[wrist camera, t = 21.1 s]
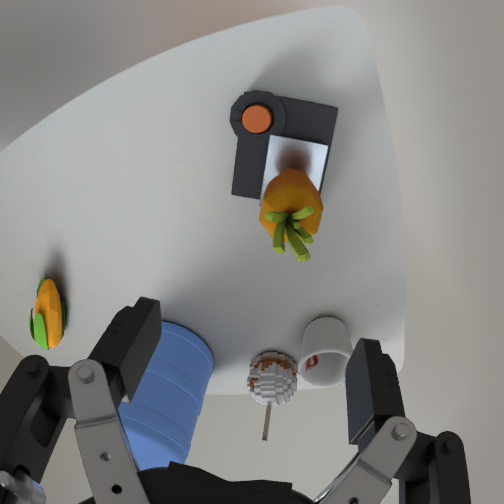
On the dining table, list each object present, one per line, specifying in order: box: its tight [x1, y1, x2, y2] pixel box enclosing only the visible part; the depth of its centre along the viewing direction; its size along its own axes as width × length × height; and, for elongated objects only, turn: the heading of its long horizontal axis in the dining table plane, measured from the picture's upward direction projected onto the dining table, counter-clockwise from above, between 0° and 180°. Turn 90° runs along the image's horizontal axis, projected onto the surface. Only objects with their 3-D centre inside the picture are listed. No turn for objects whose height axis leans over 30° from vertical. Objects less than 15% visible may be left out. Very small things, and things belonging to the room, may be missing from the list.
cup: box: [298, 317, 353, 386], centre depth 44 cm, size 11×8×8 cm
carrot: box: [259, 168, 323, 262], centre depth 26 cm, size 5×5×15 cm
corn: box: [29, 278, 65, 350], centre depth 50 cm, size 7×8×20 cm
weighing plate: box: [259, 134, 328, 206], centre depth 33 cm, size 8×6×1 cm
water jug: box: [118, 322, 214, 470], centre depth 42 cm, size 16×16×28 cm
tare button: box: [242, 105, 272, 133], centre depth 30 cm, size 3×3×2 cm
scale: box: [230, 90, 338, 200], centre depth 33 cm, size 12×11×3 cm
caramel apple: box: [247, 352, 297, 442], centre depth 46 cm, size 8×8×15 cm
